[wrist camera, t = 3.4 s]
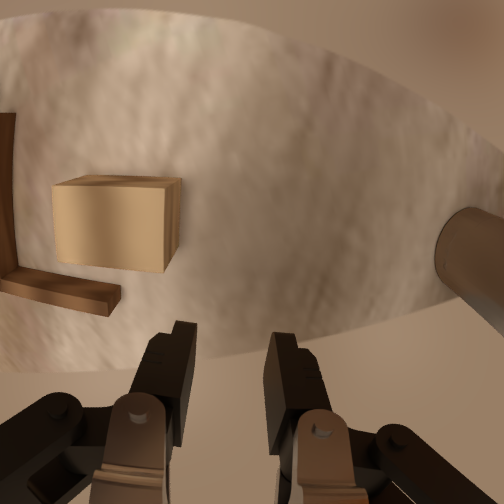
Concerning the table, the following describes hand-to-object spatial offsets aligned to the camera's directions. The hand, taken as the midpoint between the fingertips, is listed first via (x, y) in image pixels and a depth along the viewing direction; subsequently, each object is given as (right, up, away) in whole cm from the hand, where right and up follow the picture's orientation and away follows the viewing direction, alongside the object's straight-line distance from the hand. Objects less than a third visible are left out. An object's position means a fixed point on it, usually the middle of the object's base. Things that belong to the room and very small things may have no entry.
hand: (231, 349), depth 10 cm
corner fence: (-18, +8, +15) cm, 24 cm away
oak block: (-10, +7, +15) cm, 20 cm away
